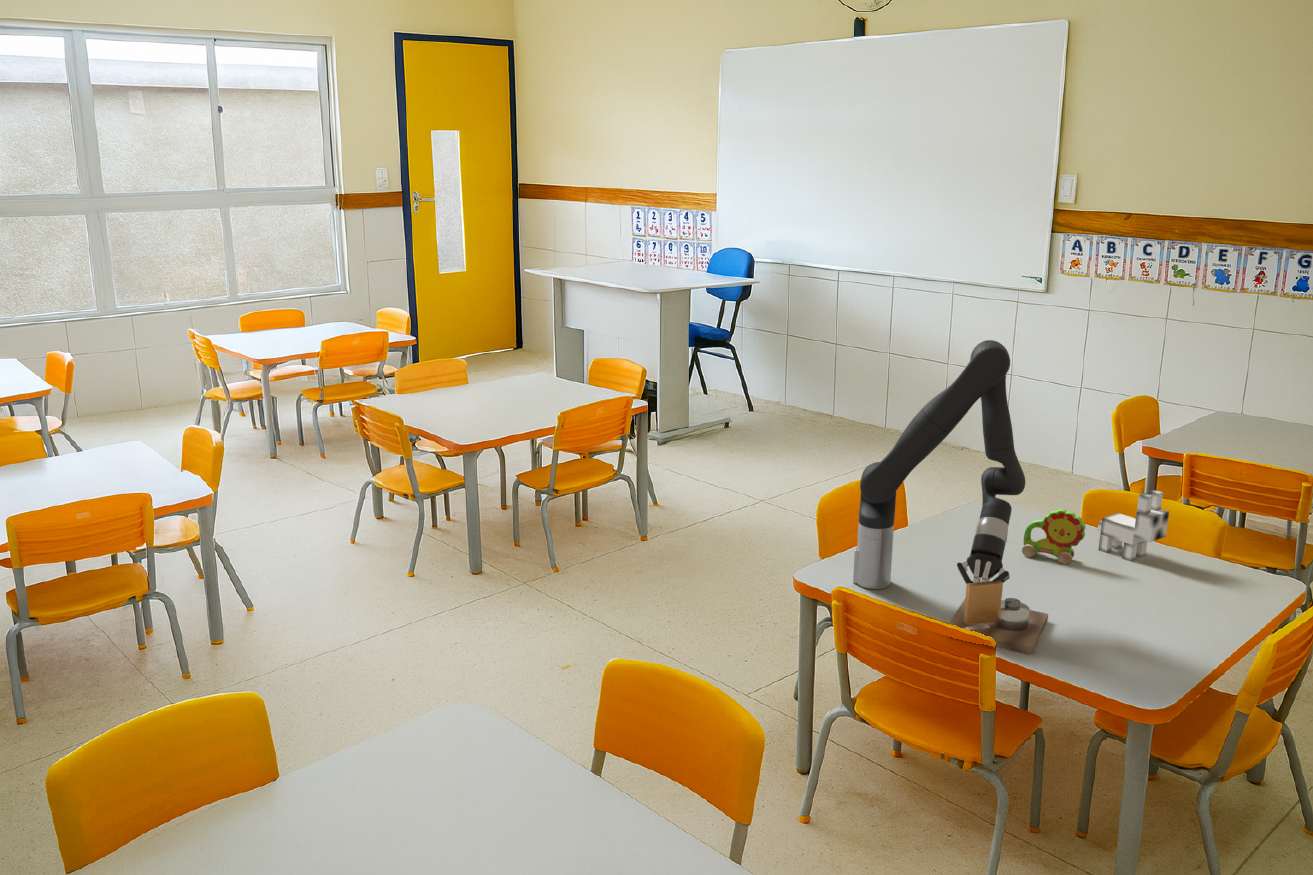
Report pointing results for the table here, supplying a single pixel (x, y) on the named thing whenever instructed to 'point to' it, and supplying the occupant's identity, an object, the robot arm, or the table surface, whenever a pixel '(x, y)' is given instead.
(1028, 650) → the base
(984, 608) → the lock handle
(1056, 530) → the toy lion
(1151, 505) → the toy llama
